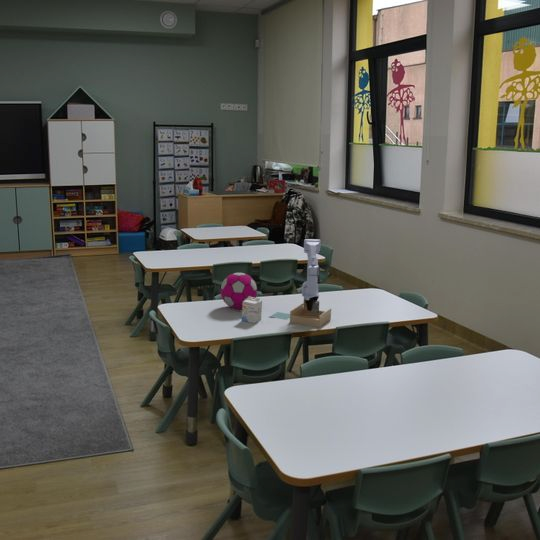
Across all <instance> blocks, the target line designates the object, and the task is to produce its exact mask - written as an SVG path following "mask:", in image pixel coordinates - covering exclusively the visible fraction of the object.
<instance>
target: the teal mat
mask: <svg viewBox="0 0 540 540" xmlns="http://www.w3.org/2000/svg"><path fill="white" fill-rule="evenodd" d="M269 318H272V319H275V318H276V319H281V320H286V321H287V320H290V313H284V312H279V311H277V312H275V313H273V314H272V315H270V316H269Z"/></svg>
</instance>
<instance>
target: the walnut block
mask: <svg viewBox="0 0 540 540" xmlns="http://www.w3.org/2000/svg"><path fill="white" fill-rule="evenodd" d="M302 304H303V313H308V314H314V315H316V314H318V313H319V311H320V300H317V301H316V300H314V302H313V305H312V310H311V311H308V310H307V305H306V302H305V300H304V299H303V303H302Z"/></svg>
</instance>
